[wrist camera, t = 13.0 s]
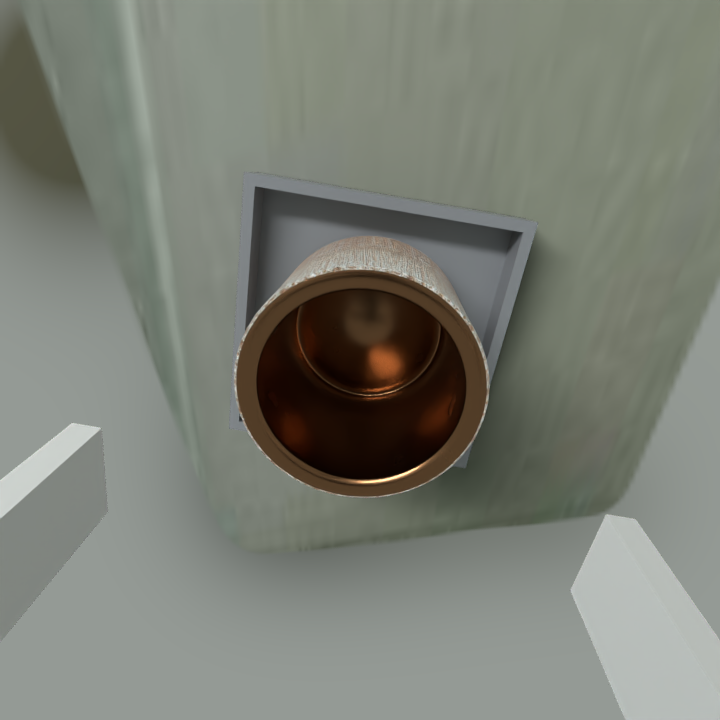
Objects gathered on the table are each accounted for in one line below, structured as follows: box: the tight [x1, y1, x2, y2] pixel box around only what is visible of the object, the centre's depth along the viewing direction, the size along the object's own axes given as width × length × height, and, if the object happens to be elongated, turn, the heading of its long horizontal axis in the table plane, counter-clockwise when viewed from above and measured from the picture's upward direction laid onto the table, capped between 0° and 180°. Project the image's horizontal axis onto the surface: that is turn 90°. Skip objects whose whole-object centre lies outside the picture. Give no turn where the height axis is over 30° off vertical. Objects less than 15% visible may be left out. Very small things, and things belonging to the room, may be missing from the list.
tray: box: [229, 172, 538, 468], centre depth 27 cm, size 15×15×2 cm
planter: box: [234, 236, 490, 498], centre depth 23 cm, size 11×11×10 cm
